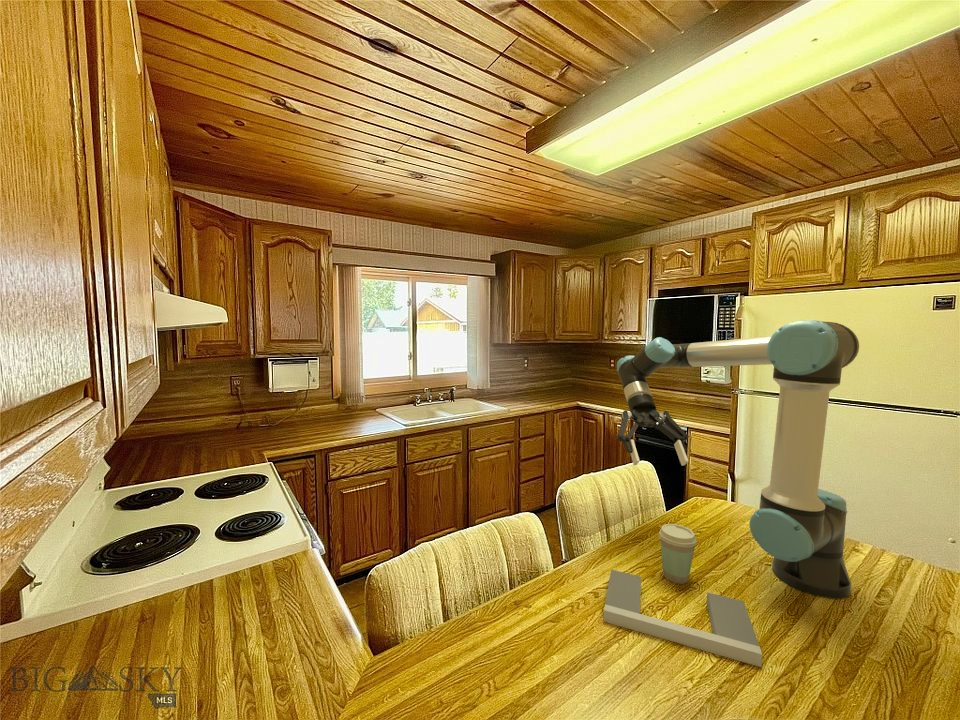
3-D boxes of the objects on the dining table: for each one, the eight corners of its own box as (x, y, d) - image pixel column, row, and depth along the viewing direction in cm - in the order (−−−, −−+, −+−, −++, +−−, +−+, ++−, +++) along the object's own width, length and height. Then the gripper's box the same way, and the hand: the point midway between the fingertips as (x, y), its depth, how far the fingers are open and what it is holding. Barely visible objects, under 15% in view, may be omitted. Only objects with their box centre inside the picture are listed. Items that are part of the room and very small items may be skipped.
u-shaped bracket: (743, 611, 87) (743, 600, 87) (761, 667, 72) (762, 654, 72) (610, 579, 98) (611, 569, 98) (603, 621, 83) (604, 610, 83)
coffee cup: (699, 589, 94) (702, 541, 94) (661, 584, 96) (663, 537, 95) (688, 569, 103) (690, 524, 102) (653, 564, 104) (655, 521, 104)
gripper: (673, 406, 125) (698, 469, 111) (596, 405, 124) (612, 468, 110) (684, 393, 119) (711, 457, 105) (603, 391, 118) (620, 456, 104)
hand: (661, 463), depth 108 cm, fingers open, 13 cm apart
